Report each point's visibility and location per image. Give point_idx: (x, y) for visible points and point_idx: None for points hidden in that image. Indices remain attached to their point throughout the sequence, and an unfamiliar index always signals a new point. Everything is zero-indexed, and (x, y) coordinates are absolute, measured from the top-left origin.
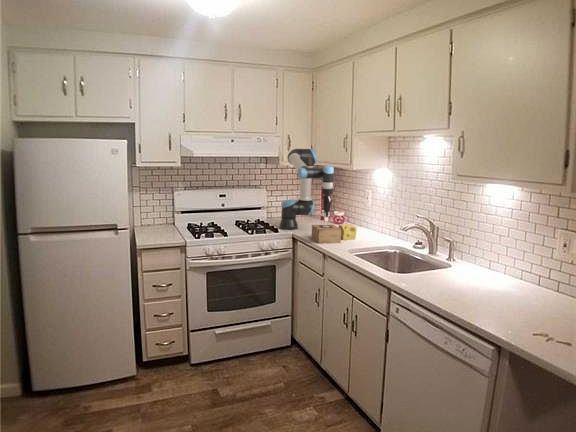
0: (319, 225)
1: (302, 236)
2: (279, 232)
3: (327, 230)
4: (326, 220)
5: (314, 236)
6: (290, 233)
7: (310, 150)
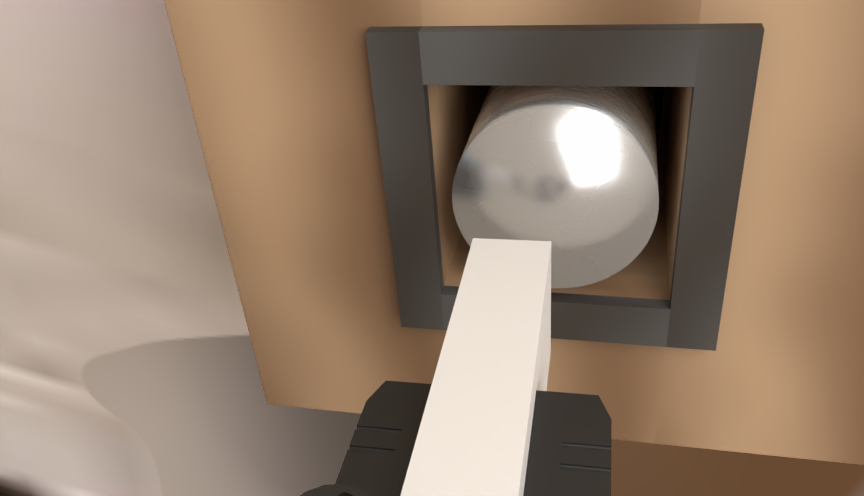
0: (407, 318)
1: (229, 318)
2: (26, 479)
3: None
4: (549, 318)
5: None
6: (54, 394)
7: None
